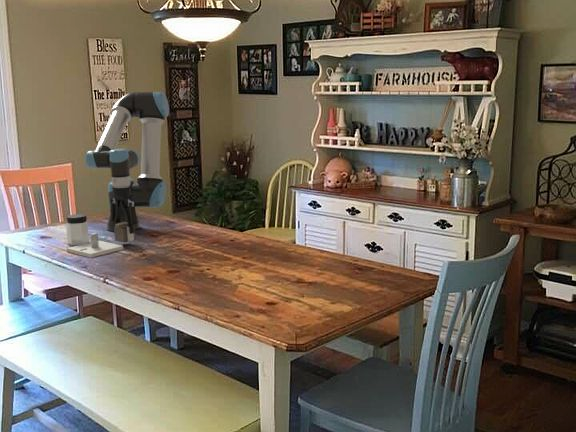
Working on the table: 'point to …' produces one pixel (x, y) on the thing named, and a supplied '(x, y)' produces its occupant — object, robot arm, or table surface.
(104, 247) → the board
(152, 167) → the robot arm
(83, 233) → the jar
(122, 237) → the brown box
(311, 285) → the table surface
